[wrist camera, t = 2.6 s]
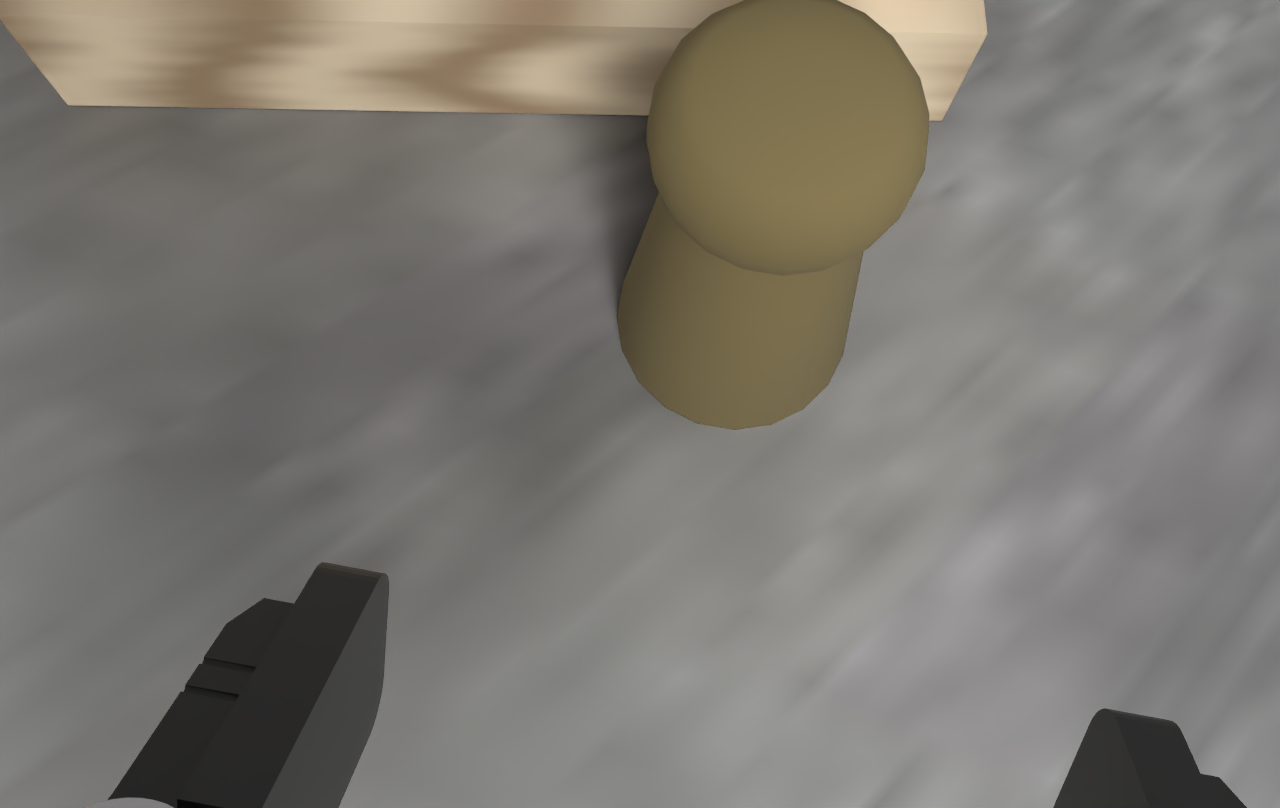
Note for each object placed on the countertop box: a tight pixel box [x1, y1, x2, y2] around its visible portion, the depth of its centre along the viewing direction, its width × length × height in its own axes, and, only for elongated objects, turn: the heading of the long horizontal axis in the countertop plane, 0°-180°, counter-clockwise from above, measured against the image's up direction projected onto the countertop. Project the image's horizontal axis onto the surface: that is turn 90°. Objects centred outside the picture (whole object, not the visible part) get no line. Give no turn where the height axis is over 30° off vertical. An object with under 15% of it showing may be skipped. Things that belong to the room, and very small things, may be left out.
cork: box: [617, 0, 930, 430], centre depth 25 cm, size 6×6×11 cm
